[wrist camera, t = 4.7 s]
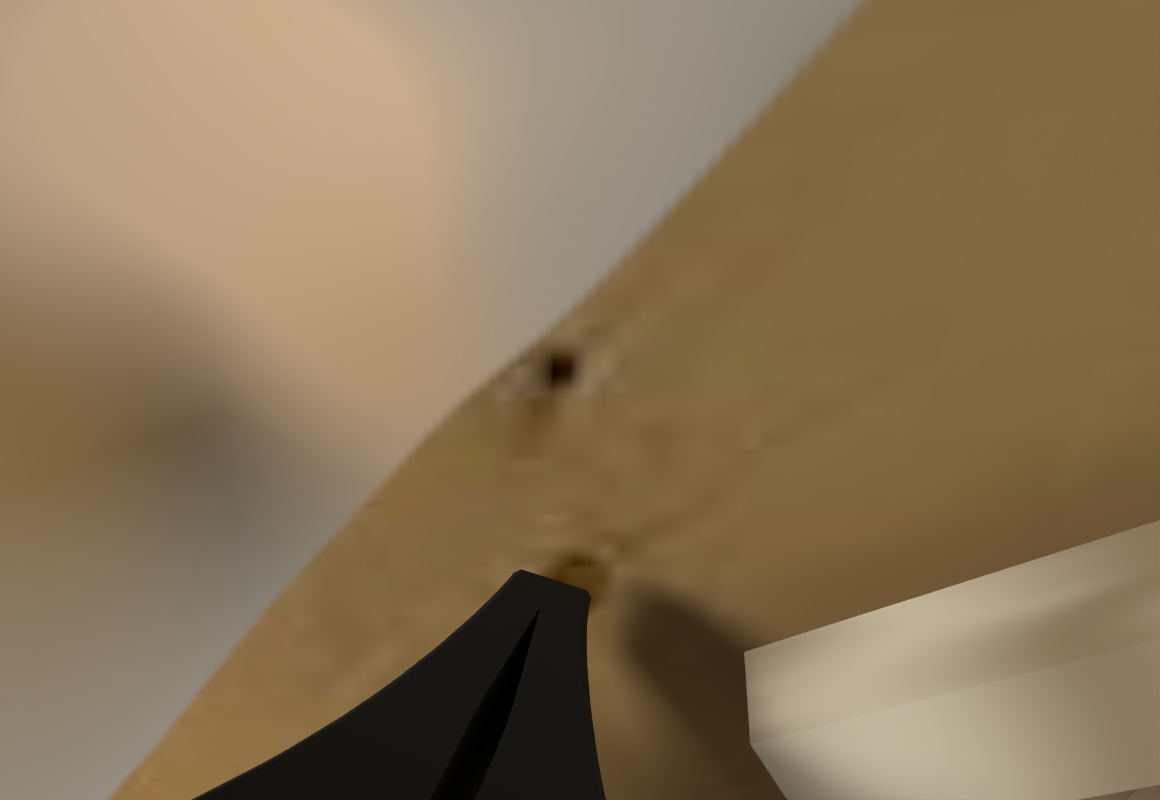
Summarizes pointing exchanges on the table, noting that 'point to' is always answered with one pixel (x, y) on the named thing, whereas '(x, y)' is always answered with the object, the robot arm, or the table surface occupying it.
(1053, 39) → the table surface
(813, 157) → the table surface
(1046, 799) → the hinged leg
